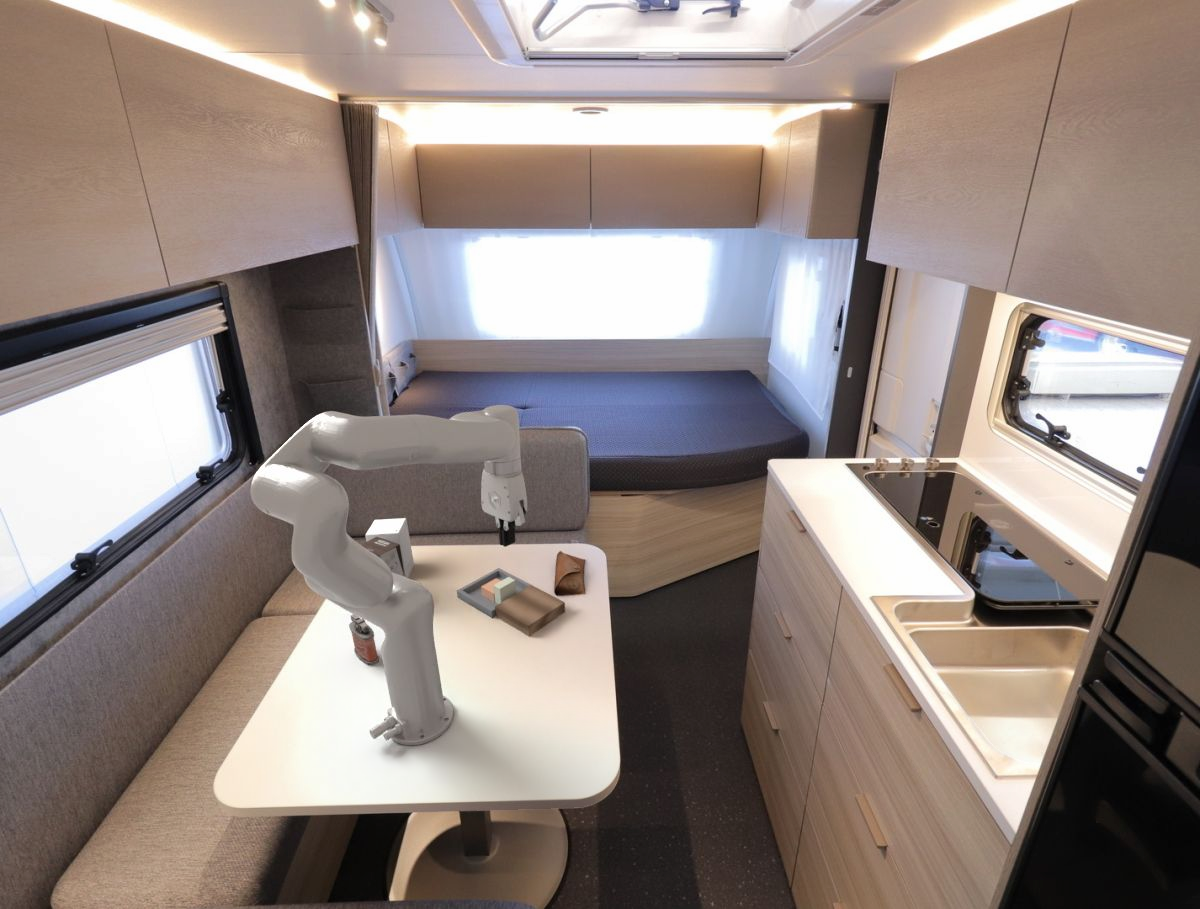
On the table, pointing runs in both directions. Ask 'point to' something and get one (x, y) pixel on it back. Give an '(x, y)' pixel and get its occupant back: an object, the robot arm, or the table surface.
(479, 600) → the tray
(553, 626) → the table surface
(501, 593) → the pale green rectangular block
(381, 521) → the supplement box
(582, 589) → the sunglasses case
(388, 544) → the coffee box
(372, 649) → the lighter
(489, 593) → the tile
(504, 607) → the brown square slab
